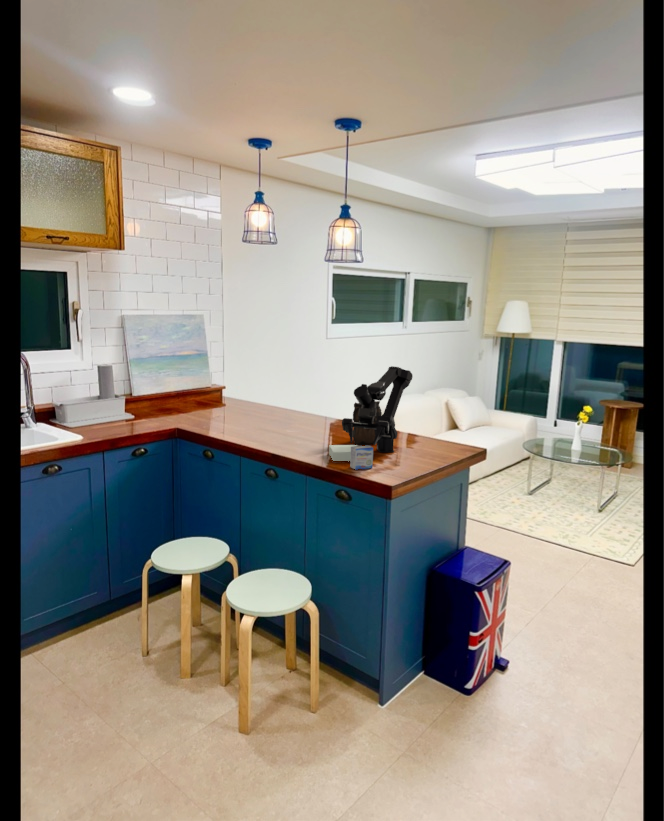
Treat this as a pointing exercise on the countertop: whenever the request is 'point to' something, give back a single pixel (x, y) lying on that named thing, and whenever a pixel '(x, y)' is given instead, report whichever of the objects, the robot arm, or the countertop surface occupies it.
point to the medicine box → (361, 457)
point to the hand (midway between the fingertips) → (362, 443)
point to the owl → (363, 434)
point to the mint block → (340, 452)
